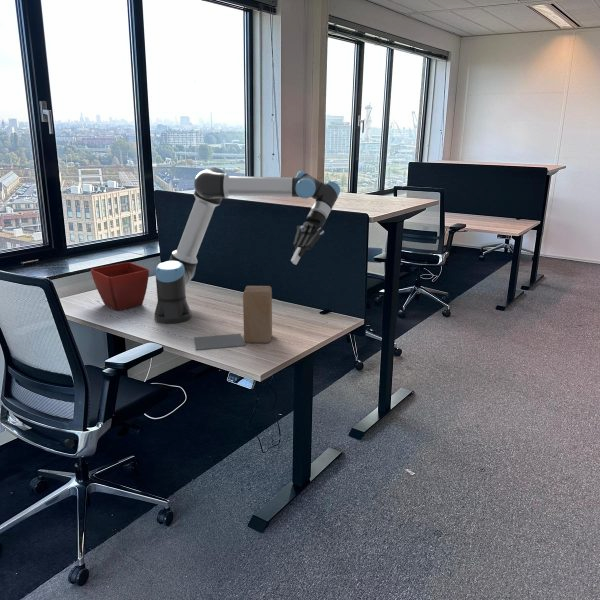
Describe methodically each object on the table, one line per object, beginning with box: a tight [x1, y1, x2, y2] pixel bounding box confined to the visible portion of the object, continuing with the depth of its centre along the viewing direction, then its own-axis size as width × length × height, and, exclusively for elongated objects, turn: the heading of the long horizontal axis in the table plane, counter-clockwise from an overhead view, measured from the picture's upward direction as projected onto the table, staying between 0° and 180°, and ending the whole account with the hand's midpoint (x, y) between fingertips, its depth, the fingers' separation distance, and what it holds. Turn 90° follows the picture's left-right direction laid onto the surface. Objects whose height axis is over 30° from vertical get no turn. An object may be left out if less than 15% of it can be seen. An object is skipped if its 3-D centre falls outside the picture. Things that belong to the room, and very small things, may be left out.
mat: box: [193, 333, 246, 351], centre depth 201 cm, size 18×12×1 cm, turn 105°
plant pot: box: [90, 261, 150, 311], centre depth 240 cm, size 19×19×17 cm
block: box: [242, 285, 273, 344], centre depth 201 cm, size 10×10×20 cm
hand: (293, 262), depth 210 cm, fingers closed
